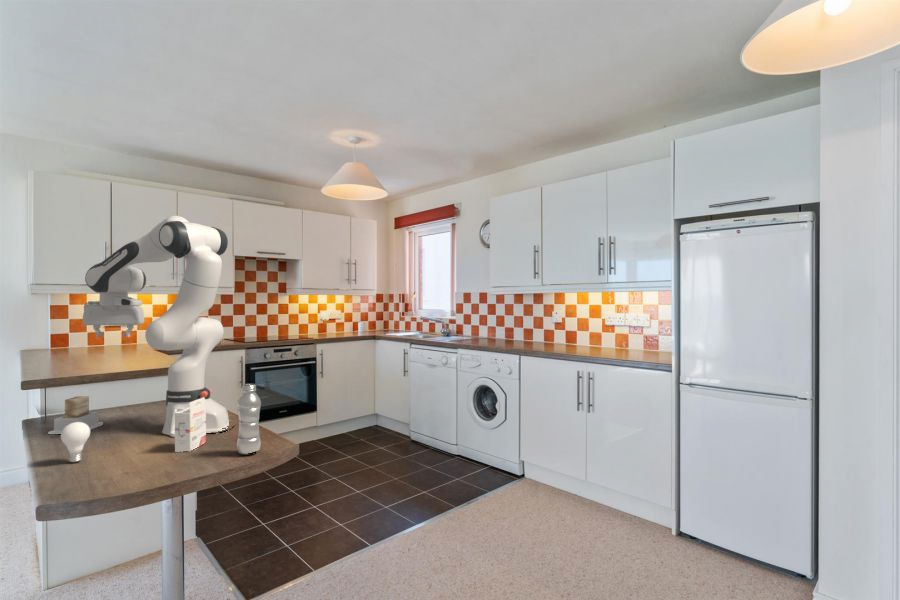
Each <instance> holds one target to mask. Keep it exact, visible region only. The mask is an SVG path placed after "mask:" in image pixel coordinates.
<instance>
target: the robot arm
mask: <svg viewBox="0 0 900 600" xmlns="http://www.w3.org/2000/svg"><path fill="white" fill-rule="evenodd" d="M228 242H229V241H228V236H227V234H226V233H225V231H223V230H222V229H221V228H217V227H214V226H208V225H204V224H200V223H196V222H190V221H188V219H187V218H184V217H182V216H180V215H170V216H167V218H165V219H163V220H162V221H161V222H158V224H157V225H155V226H154V227H153V228H152V229H151V230H150V231H149V232H148V233H146V234H144V235H143V236H142V237H140V238H138V239H135V240H134V241H130V242H128V243H126V244H124V245H123V246H121V247H120V248H119V249H117V250H116V251H115V252H113V253H112V254H110V255H109V256H108V257H107V258H105V259H104V260H103V261H101V262H98V263H96V264H94V265H92V266H91V267H89V269H88V270H87V271H86V273H85V278H84V280H85V284H86V285H87V286H88V288H90V290H92V291H93V292H95V293H97V294H98V293H99V300H96V301H91V300H90V301H88V302H85V303H84V305H83V314H82V320H81V321H82V324H83V325H84V326H93V327H92V328H93V330H94V332H95V333H96V337H97V338H104V333H105V332H103V331H102V330H100V329H101V327H102V326H126V328H127V330H126V332H123V338H131V333H132V331H133V329H134V328H135V327H134V326H140V325H141V326H142V325H143V324H144V323H145V314H144V313H145V312H144V308H143V307H142V305H143V301H142V300H140V299H136V298H133V297H130V296H129V293H137V292H141V291H142V290H143V289H144V288H145V287H146V285H147V276H146V274H145V272H144V271H143V270H142V269H141V268H137V267H135V266H132V265H135V264H143V263H145V264H147V263H163V262H167V261H169V260H171V259H173V258H176V259H182V258H184V259H185V262H186V263H185V264H186V266H185V269H184V273H183V276H182V280H181V283H180V287H179V290H178V292H177V295H176V298H175V299H174V301H173V303H172V305H171V306H170V308H169V309H167V310H166V312H164V314H162V315H161V316H159V317H158V318H156V319H154V320H153V321H151V322H150V323H149V324H148V325H147V327H146V329H145V341H146V342H147V344H148V346H149V347H150V348H152V349H153V350H159V351H167V352H168V351H180V350H181V351H182V350H183V351H182V353H181V355H180V357H179V358H178V359H177V360H176V361H174V362H173V363H171V364H170V365H169V367H168V369H167V370H168V371H167V390H166V393H165V403H166V404H165V405H166V415H165V421H164V424H163V428H162V430H161V433H162V434H163V435H166V436H170V437H172V438H175V413H176V412H179V411H181V410H184V409H187V408H189V403H190V402H192V401H195V400H198V399H201V398H203V397H204V398H205V405H206V433H211V432H218V431H222V430H225V429H222V428H226V429H227V428H228V427H227V426H229V421H230V417H229V414H228V413H229V412H228V410H227V408H226V407H225V406H224V405H222V404H221V403H219V402H217V401H216V400H215V399H212V398H211V393H212V390H213V389H211V388H210V389H208V388H207V387H206V386H205V380H206V378H205V377H206V365H207V362H208V359H209V357H210V355H211V352H212V351H213V350H214V348H215V347H216V346H218V344H219V343H221V342H222V340H223V337H224V334H225V333H224V332H225V331H224V326H223V324H222V323H221V321H220V320H218V319H216V318H212V317H205V316H202V317H201V315H203V313H205V312H207V311H208V310H209V311H210V309H212V307H213V305H214V303H215V300H216V297H217V292H218V291H219V290H218V288H219V286H220V282H221V277H222V271H223V270H222V269H223V260H222V258H221V255H224V253H225V252H226V250H227V248H228V246H229V245H228V244H229V243H228ZM198 405H200V403H198V402H197V404H195V406H198Z"/></svg>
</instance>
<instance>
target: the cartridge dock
mask: <svg viewBox="0 0 900 600" xmlns="http://www.w3.org/2000/svg"><path fill="white" fill-rule="evenodd" d="M73 422H83V423H85V424H87V425H88V426H89V428H90V431H92V430H93V429H96V428H98V427H101V426H103V425H104V421H99V411H89V414H87V415H84V416H81V417H79V418H65V415H63V416H62V415H61V416H60V417H56V418H54V419H53V430H50V431H48V432H47V435H48V434H61V432H62V430H63V429H64V428H65V427H66V426H67V425H68V424H70V423H73Z"/></svg>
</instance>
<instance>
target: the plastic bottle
mask: <svg viewBox="0 0 900 600" xmlns="http://www.w3.org/2000/svg"><path fill="white" fill-rule="evenodd" d="M241 387H242V390H241V392H242V394H241V395H240V397H239V399H238V400H237V402H236V406H237V413H238V422H239V423H238V426H239V427H238V434H237V435H238V436H237V437H238V438H237V441H236V450H237V452H238V453H239V454H240V455H249V454H248V453H252V452H255V451H258V450H259V451H260V449H261V443H262V442H261V436H260V427H259V423H260V421H259V420H260V413H261V405H262V401H261V398H260V397H259V395H258V394H257V392H256V391H257V385H256V384H255V383H245V384H242V386H241ZM259 451H258V452H259Z"/></svg>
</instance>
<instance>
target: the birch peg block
mask: <svg viewBox="0 0 900 600" xmlns="http://www.w3.org/2000/svg"><path fill="white" fill-rule="evenodd" d="M89 412H90V395H85V396H82V395H81V396H73V397H69V398H67V399H64V416H65V418H79V417H81V416H84V415H87V414H89Z"/></svg>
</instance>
